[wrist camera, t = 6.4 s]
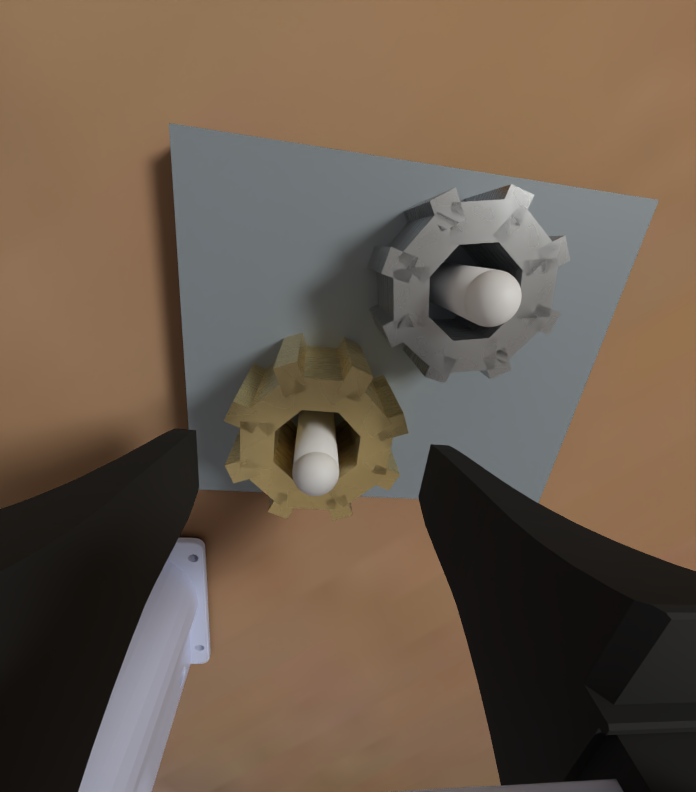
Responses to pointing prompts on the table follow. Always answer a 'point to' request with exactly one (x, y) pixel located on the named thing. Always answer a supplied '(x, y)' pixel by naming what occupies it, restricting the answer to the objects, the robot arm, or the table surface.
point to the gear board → (357, 292)
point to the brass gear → (315, 391)
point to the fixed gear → (490, 248)
